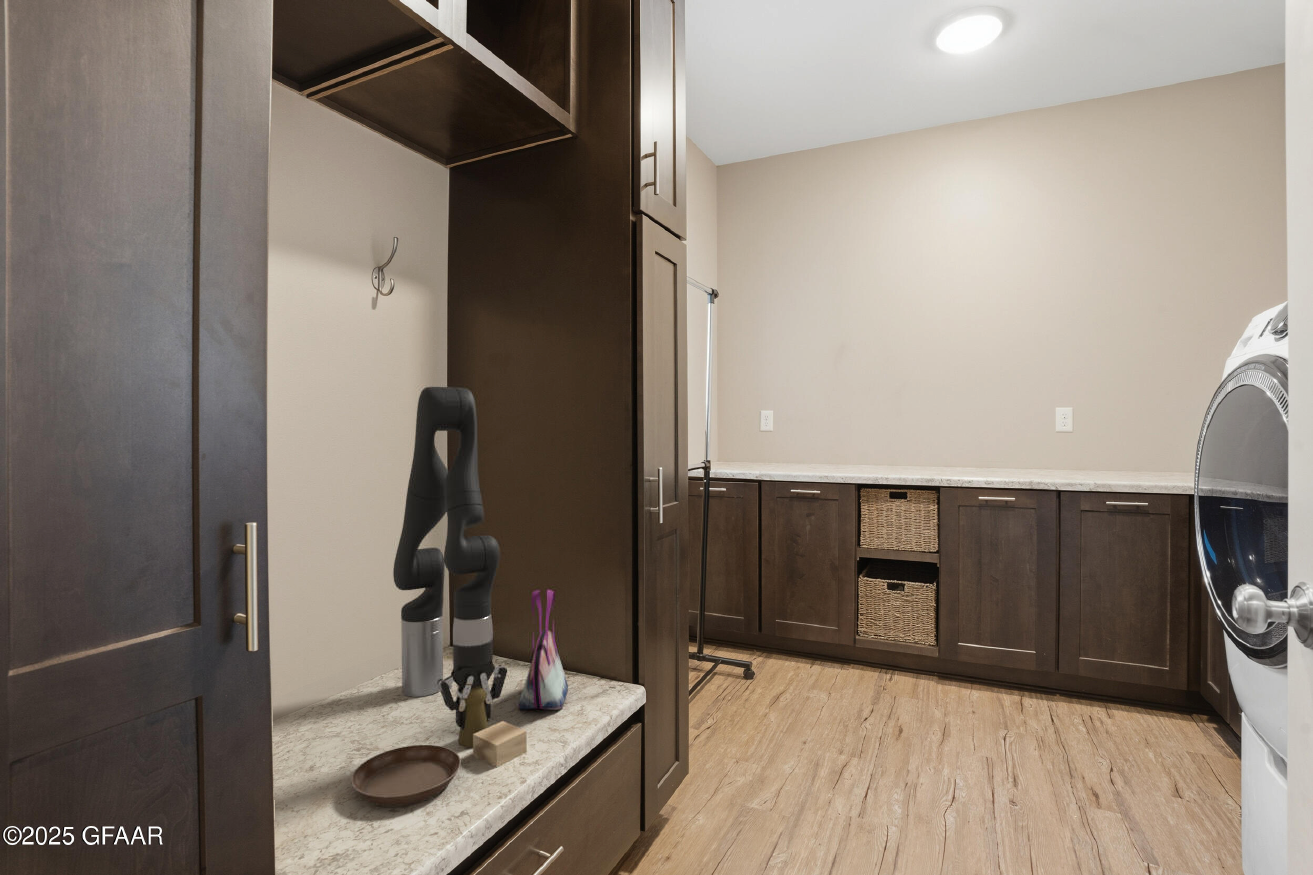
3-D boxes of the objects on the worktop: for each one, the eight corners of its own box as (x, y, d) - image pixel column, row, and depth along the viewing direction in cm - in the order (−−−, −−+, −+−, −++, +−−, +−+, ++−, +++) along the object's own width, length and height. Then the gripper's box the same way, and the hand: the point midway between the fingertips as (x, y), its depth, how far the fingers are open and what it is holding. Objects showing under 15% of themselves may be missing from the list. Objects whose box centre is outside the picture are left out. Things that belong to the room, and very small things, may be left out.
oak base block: (473, 755, 122) (472, 734, 122) (502, 741, 128) (502, 721, 128) (496, 767, 118) (496, 745, 118) (526, 751, 124) (526, 730, 123)
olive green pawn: (480, 749, 125) (480, 692, 124) (452, 746, 126) (451, 690, 126) (494, 734, 130) (494, 680, 130) (467, 732, 132) (466, 678, 132)
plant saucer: (421, 749, 125) (421, 734, 125) (481, 778, 115) (481, 761, 115) (330, 792, 111) (330, 774, 110) (390, 828, 100) (390, 809, 100)
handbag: (530, 681, 158) (529, 579, 158) (571, 681, 158) (570, 579, 158) (512, 721, 136) (511, 603, 136) (560, 720, 137) (559, 602, 136)
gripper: (499, 626, 135) (499, 708, 135) (430, 640, 127) (431, 727, 127) (514, 635, 129) (515, 721, 129) (443, 650, 121) (444, 742, 121)
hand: (473, 724), depth 128 cm, fingers closed on olive green pawn, 4 cm apart
